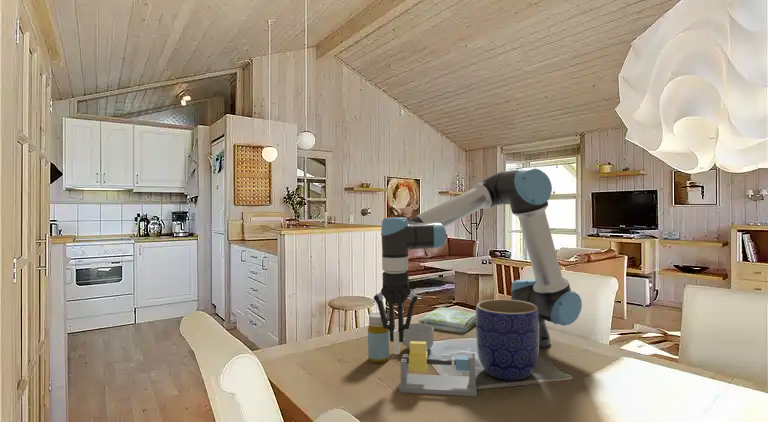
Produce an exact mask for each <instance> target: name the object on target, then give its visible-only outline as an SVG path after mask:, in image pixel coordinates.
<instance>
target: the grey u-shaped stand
mask: <svg viewBox="0 0 768 422" xmlns="http://www.w3.org/2000/svg"><path fill="white" fill-rule="evenodd" d="M475 355H476V354H475V353H474V352H468V355H455V357H453V356H452V357H451V359H436V358H428V359H427V364H428V365H437V366H438V365H440V366H451V368H452V369H455V371H465V372H466V371H468V376H464V375H463V376H461V375H443V374H442V375H441V374H440V375H439V374H437V375H436V374H421V373H418V374H417V373H409V372H410V371H409V354H406V353H405V354H404V353H403V354H402V356H401V359H400V384H399V387H398V389H399V390H398V392H399V393H405V394H406V393H410V394H426V395H427V394H428V395H444V396H445V395H448V396H462V397H463V396H465V397H466V396H467V397H477V395H478V392H477V381H476V356H475Z"/></svg>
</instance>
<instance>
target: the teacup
mask: <svg viewBox="0 0 768 422" xmlns="http://www.w3.org/2000/svg"><path fill="white" fill-rule="evenodd" d="M434 331H435V329H434V328H433V327H432V326H430V325H427V324H421V323H418V322H417V323H416V322H415V323H410V326H409V328H408V329H405V330H404V339H403V342H400V344H402V345H403V346H405V347H406V348H408V350H409V351H410V341H422V342H426V346H427V348H430V349H431V348H432V346H433V345H434Z"/></svg>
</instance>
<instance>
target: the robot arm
mask: <svg viewBox="0 0 768 422" xmlns="http://www.w3.org/2000/svg"><path fill="white" fill-rule="evenodd" d="M552 185H553V184H552V182H551V179H550V177H549V176H548V174H546V173H545V171H542V170H541V169H539V168H536V167H531V168H530V167H524V168H517V169H510V170H503V171H499V172H496V173H495V174H492V175H491V176H489V177H486V178H485V179H483V180H481V181H479V182H477V183H475V184H474V185H473V186H472V188H471V189H469V190H467V191H466V192H463V193H461V194H459V195H457V196H455V197H453V198H450V199H449V200H447V201H444V202H442V203H439V204H438V205H436V206H434V207H431V208H430V209H428V210H426V211H423V212H421V213H419V214H418V215H416V216H413V217H411V218H409V219H407V217H403V216H401V217H385V218H383V219H382V221H381V227H380V228H381V231H380V232H381V233H380V235H381V256H382V257H381V265H382V266H381V270H382V271H383V272H382V287H381V289H380V292H378V293H376V294H375V295H374V296H373V300H374V301H375V303H376V304H377V307H378V313H380V316H381V320H382V324H383V328H384V329H388V330H389V342H391V343H392V342H393V355H400V354H401V342H403V340H404V330H405V329H408V328H409V326H410V324H411V322H412V316H413V313H414V308H415V304H416V303H417V301H418V298H419V295H418V294H415V293H413V292H411V291H412V290H411V288H410V285H409V283H410V281H409V279H410V277H409V272H408V270H409V251H411V250H418V249H419V250H420V249H421V250H422V249H436V248H437V249H438V248H441V247H443V246H444V245H445V244H446V241H447V230H446V228H447V227H448V226H449V225H452V224H454V223H455V222H458V221H460V220H461V219H462V220H463V218H466V217H468V216H470V215H471V214H474V213H476V212H477V211H480V210H482V209H484V210H488V209H490V208H492V207H495V206H501V205H502V206H503V205H509V206H510V210H511V213H512V215H514V216H516V217H517V218H518V220H519V224H520V228H521V231H522V235H523V238H524V242H525V247H526V249H527V254H528V257H529V261H530V264H531V268H532V272H533V275H534V278H527V279H525V278H524V279H517V280H514V281H512V282H511V290H510V295H511V299H510V300H519V301H524V302H529V303H532V304H534V305H536V306H537V307H538V309H539V349H540V348H546V347H549V346H550V345H551V335H550V333H549V329H548V327H547V324H546V321H547V322H550V323H553V324H554V325H560V326H570V325H571V324H574V322H576V321H577V320H578V318H579V316H580V313H581V312H582V308H583V301H582V298H581V296H580V295H579V294H578V293H577V292H576V291H572V290H571V287H570V282H569V280H568V279H566V278H564V276H563V275H562V270H561V267H560V263H559V260H558V256H557V252H556V247H555V245H554V239H553V236H552V233H551V229H550V225H549V222H548V217H547V213H546V210H547V208H548V207H549V202H548V201H549V199H550V198H551V195H552V194H551V193H553V191H552V190H553V188H552ZM407 298H409V302H410V303H409V306H408V309H407V315H406V319H404V303H405V302H406V300H407ZM383 299H385V300H386V301H387V303H388V314H389V315H387V316H386V314H387V313H386V309H385V305H384V302H383ZM396 304H397V321H398V322H397V324H398V328H396V323H395V322H396V320H395V319H396V317H395V314H396V313H395V305H396ZM388 318H389V320H388ZM404 320H405V323H404Z"/></svg>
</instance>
